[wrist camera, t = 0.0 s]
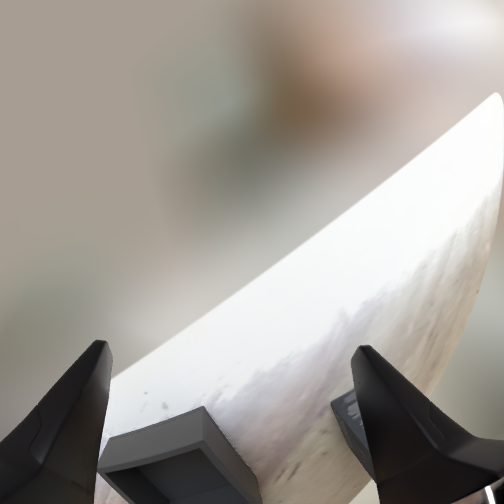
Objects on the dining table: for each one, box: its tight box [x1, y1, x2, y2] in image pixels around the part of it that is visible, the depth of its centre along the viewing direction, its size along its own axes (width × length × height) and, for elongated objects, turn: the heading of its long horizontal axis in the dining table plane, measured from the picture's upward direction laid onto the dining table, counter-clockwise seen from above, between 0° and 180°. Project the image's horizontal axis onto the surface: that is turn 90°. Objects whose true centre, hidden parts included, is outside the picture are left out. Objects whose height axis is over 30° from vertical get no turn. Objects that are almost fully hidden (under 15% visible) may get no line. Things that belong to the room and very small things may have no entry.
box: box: [331, 388, 376, 483], centre depth 21 cm, size 8×6×11 cm
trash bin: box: [97, 406, 263, 504], centre depth 21 cm, size 11×11×6 cm
